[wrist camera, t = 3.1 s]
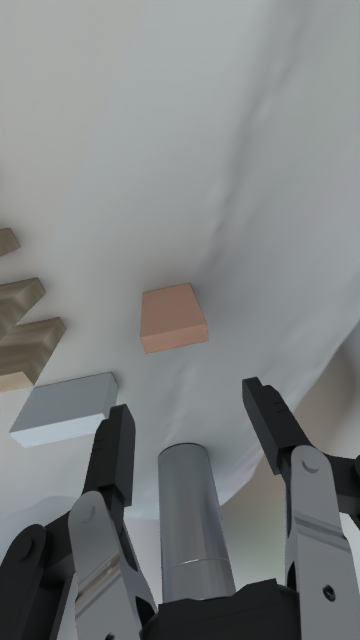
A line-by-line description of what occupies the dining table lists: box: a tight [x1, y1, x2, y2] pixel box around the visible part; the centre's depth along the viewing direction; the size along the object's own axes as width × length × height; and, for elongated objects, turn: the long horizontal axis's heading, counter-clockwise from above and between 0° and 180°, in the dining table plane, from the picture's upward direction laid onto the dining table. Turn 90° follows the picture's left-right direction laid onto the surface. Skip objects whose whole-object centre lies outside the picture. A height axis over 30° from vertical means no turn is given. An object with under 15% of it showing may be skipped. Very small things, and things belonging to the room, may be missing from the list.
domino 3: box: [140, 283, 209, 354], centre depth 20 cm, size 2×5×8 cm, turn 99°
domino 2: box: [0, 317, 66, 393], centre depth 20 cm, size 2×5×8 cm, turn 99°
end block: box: [9, 372, 118, 448], centre depth 26 cm, size 3×10×6 cm, turn 100°
